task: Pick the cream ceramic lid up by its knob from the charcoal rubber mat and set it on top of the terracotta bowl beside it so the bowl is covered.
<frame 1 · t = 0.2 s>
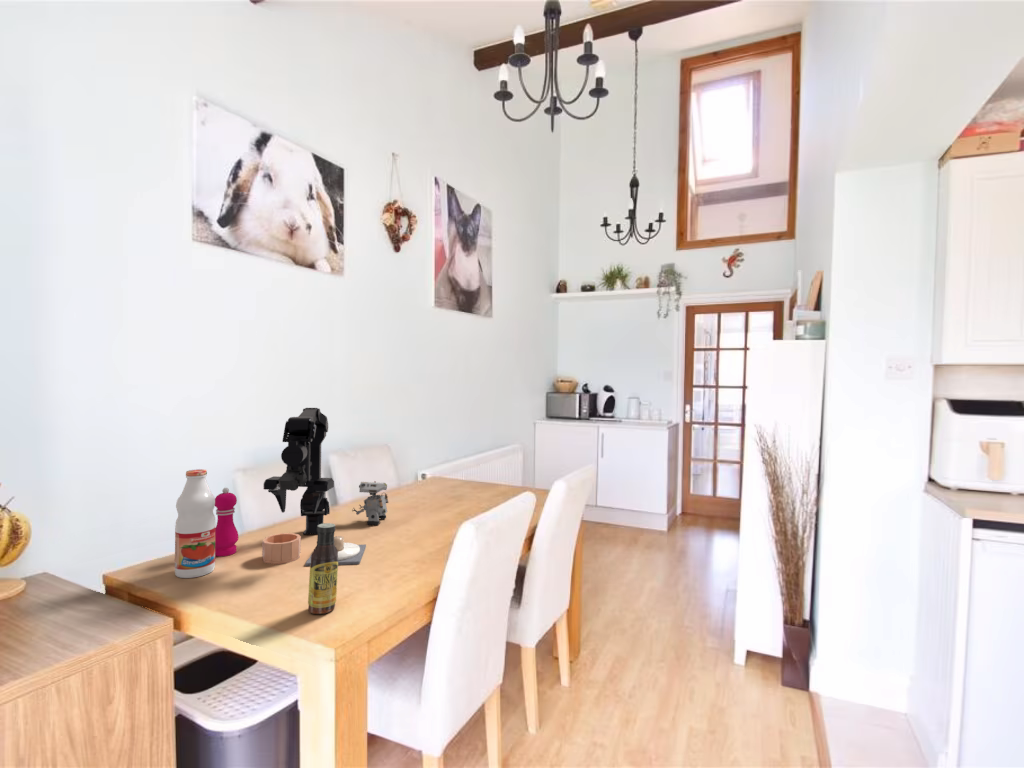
hand: (298, 512, 149), 14 cm above the table, fingers open, 9 cm apart
fruit juice: (195, 572, 139), on the table
bowl: (281, 558, 151), on the table
figurine: (371, 522, 190), on the table
sauce bottle: (322, 610, 119), on the table
pepper mill: (224, 553, 154), on the table
lid: (337, 553, 154), point 1 cm above the table, touching mat
mat: (337, 555, 154), on the table
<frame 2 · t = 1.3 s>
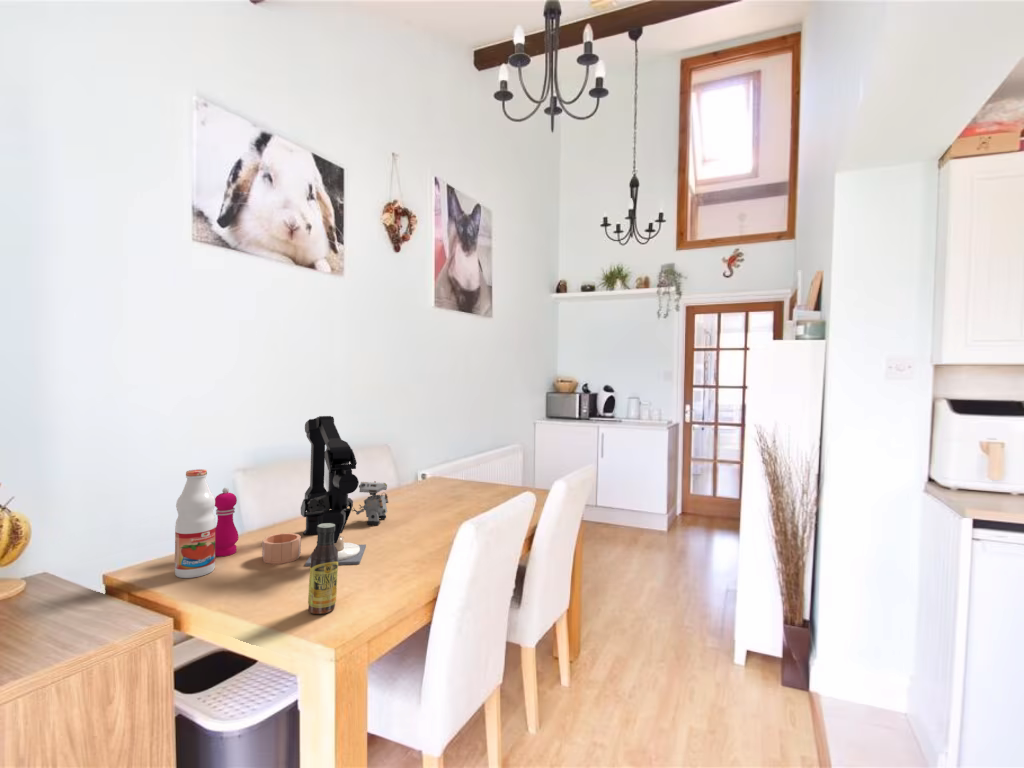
hand: (337, 538, 154), 5 cm above the table, fingers open, 9 cm apart
nothing on the table moved.
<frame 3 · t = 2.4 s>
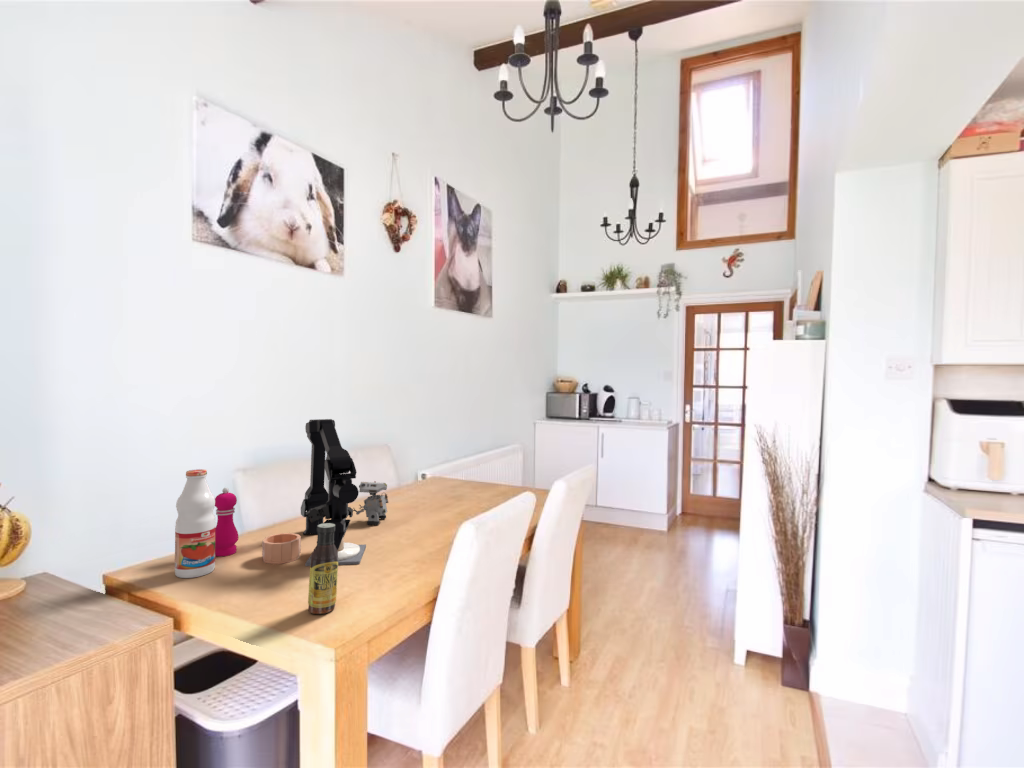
hand: (337, 547, 154), 3 cm above the table, fingers closed on lid, 4 cm apart
lid: (337, 553, 154), point 1 cm above the table, touching gripper, mat
everything else where it was.
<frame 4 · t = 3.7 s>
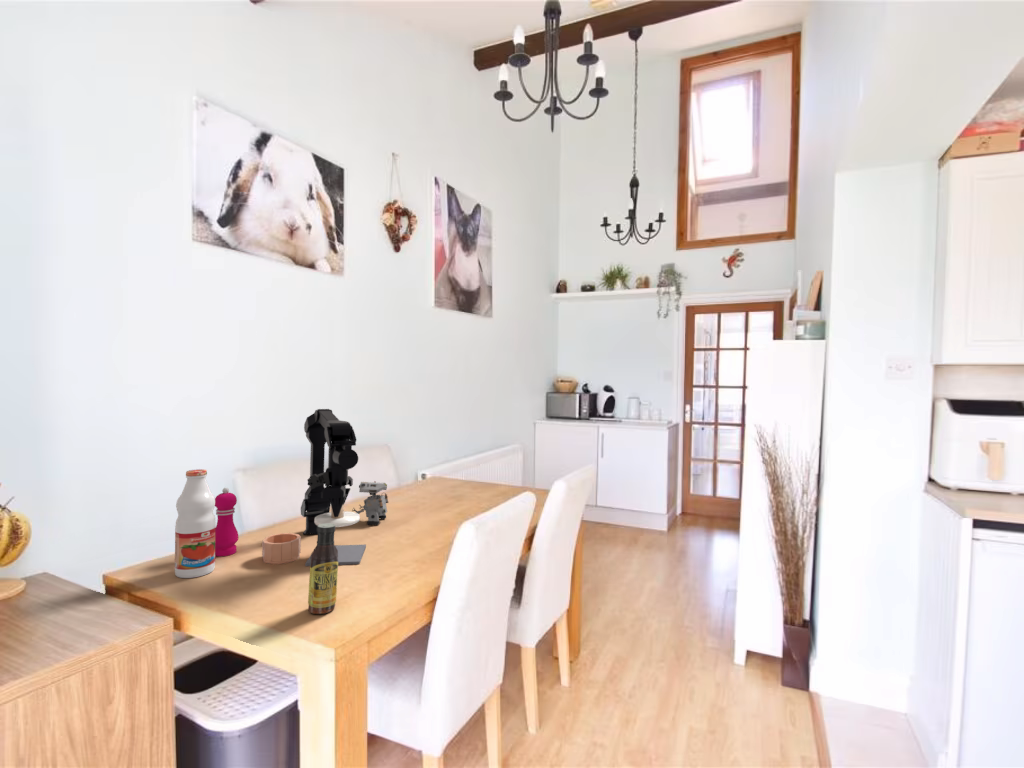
hand: (337, 515, 154), 13 cm above the table, fingers closed on lid, 4 cm apart
lid: (337, 520, 154), point 11 cm above the table, touching gripper
everything else where it was.
when the fingers open (9 cm above the table, at t = 5.4 s): lid stays where it is, resting on bowl.
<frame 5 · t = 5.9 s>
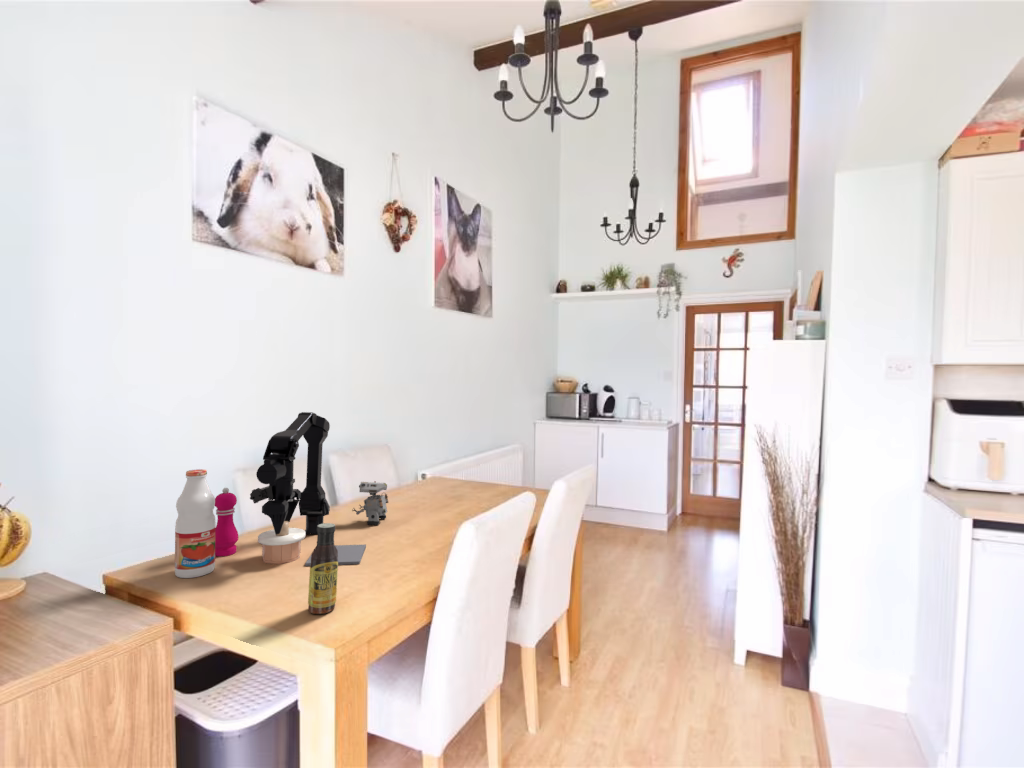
hand: (282, 529, 151), 9 cm above the table, fingers open, 9 cm apart
bowl: (281, 558, 151), on the table, touching lid
lid: (282, 538, 151), point 6 cm above the table, touching bowl
everything else where it was.
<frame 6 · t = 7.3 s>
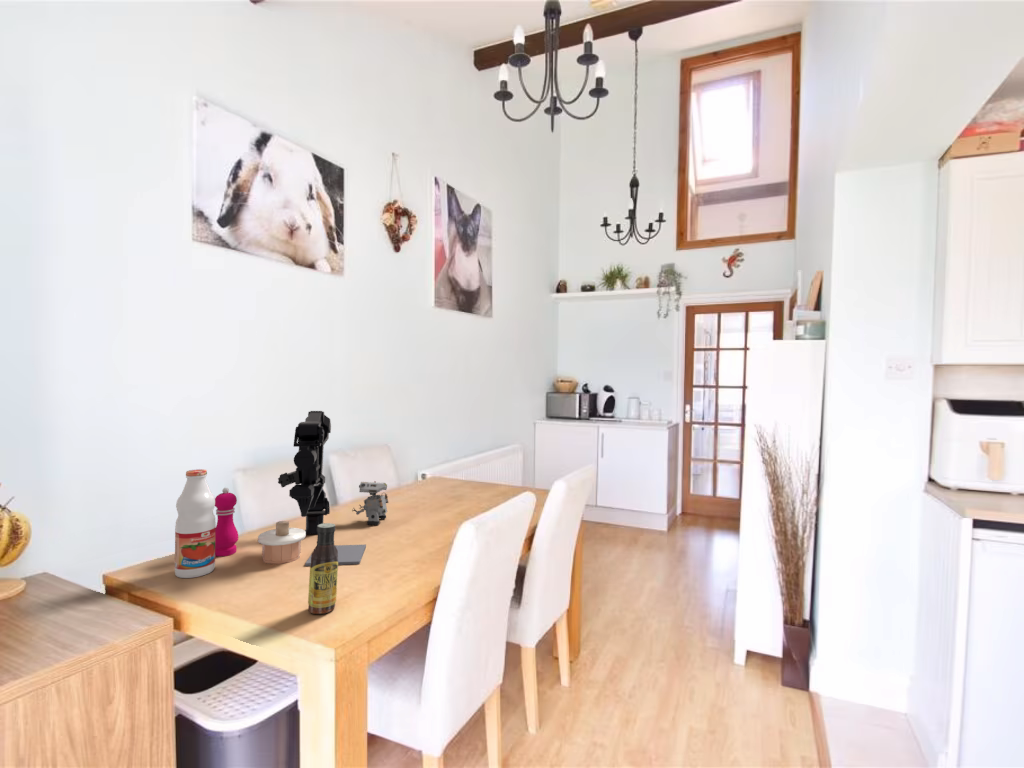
hand: (308, 512, 159), 12 cm above the table, fingers open, 9 cm apart
nothing on the table moved.
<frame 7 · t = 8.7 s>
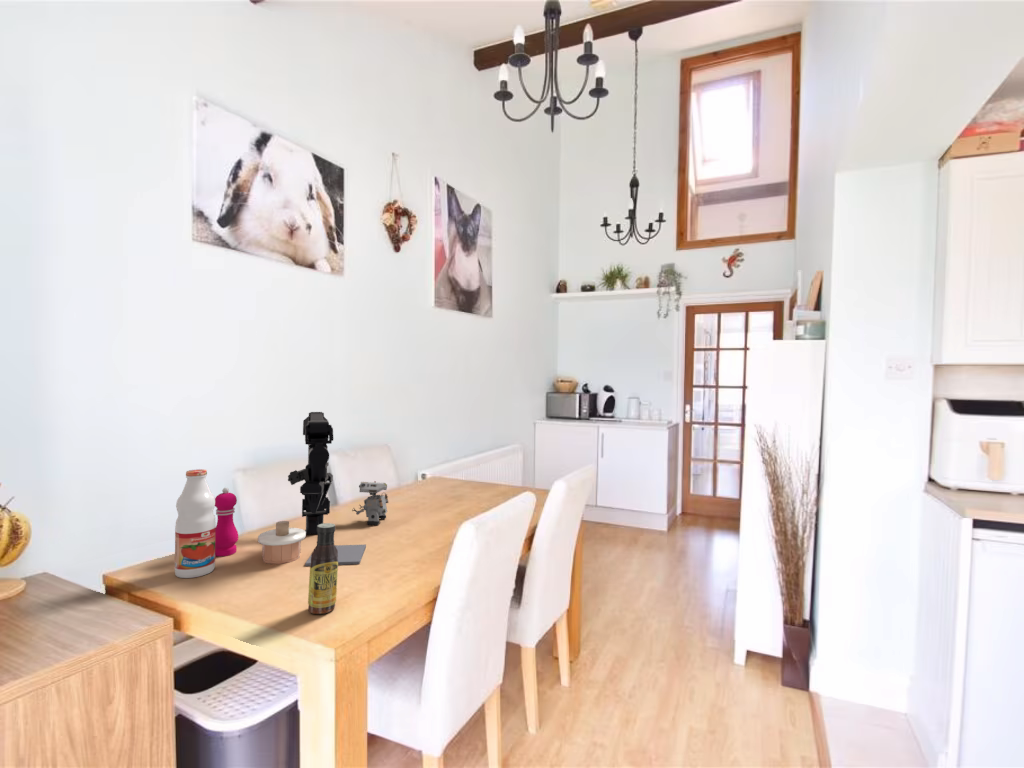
hand: (316, 509, 161), 12 cm above the table, fingers open, 9 cm apart
nothing on the table moved.
at the end: lid 0.1 cm off-centre on the bowl, point 6.0 cm above the bowl's base; lid tilted 0°; the gripper is holding nothing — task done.
